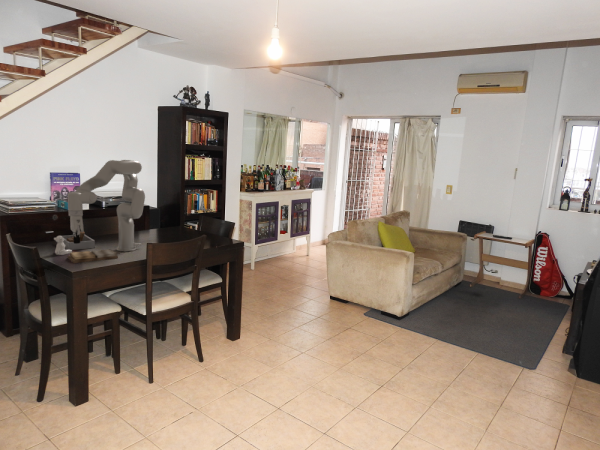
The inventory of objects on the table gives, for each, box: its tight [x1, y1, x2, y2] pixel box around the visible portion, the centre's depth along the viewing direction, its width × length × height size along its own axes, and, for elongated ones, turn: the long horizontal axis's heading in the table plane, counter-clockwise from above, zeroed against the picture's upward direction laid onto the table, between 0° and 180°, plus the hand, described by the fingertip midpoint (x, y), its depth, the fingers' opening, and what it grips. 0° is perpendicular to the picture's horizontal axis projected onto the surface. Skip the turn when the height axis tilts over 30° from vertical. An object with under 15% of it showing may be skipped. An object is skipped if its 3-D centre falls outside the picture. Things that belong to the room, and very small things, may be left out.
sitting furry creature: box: [53, 235, 73, 256], centre depth 268 cm, size 10×9×12 cm
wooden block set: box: [67, 230, 86, 242], centre depth 293 cm, size 18×9×10 cm, turn 153°
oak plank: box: [69, 250, 95, 260], centre depth 260 cm, size 11×12×2 cm
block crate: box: [61, 234, 96, 251], centre depth 293 cm, size 16×24×5 cm, turn 41°
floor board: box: [67, 248, 119, 264], centre depth 264 cm, size 25×14×3 cm, turn 132°
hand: (76, 243), depth 257 cm, fingers closed
